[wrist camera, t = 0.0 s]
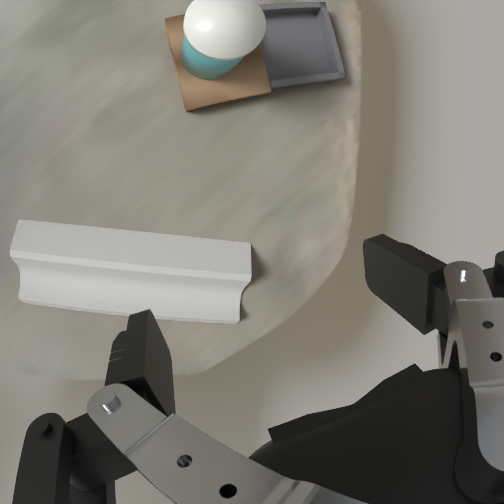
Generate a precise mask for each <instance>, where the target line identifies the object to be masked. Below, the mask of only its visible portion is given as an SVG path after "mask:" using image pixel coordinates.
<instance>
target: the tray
mask: <svg viewBox="0 0 504 504" xmlns="http://www.w3.org/2000/svg"><path fill="white" fill-rule="evenodd" d="M259 6H260V8H261V9H262V11H263V13H264V16H265V19H266V31H265V34H264V37H263V39H262V40H261V42H260V43H259V44H260V48H261V52H262V56H263V60H264V63H265V67H266V71H267V75H268V79H269V83H270V87H271V89H276V88H282V87H288V86H295V85H302V84H309V83H317V82H326V81H336V80H340V79H343V78H346V76H345V72H344V67H343V63H342V59H341V56H340V52H339V48H338V44H337V40H336V37H335V33H334V30H333V26H332V23H331V20H330V16H329V13H328V10H327V7H326V3H325V2H296V3H276V4H263V5H259Z"/></svg>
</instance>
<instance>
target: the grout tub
mask: <svg viewBox="0 0 504 504" xmlns="http://www.w3.org/2000/svg"><path fill="white" fill-rule="evenodd" d="M183 30H184V40H183V47H182V62H183V65H184V67H185V68H186V70H187V71H188V72H189V73H190V74H192V75H193V76H195V77H197V78H200V79H204V80H215V79H219V78H222V77H224V76H225V75H227V74H228V73H229V72H231V71H232V69H233V68H234V67H235V66H236V65H237V64H238V63H239V62H240V60H241V59H242V58H243V57H244V56H245V55H247V54H249V53H250V52H251V51H253V50H254V49H255V48H256V47H257V46H258V44H259V43H260V42H261V40H262V39H263V37H264V34H265V31H266V19H265V16H264V13H263V11H262V9H261V8H260V6H259V5H258V4H257V3H256V2H255V1H254V0H194V1H193V2H192V3H191V4H190V6H189V7H188V9H187V11H186V13H185V17H184V24H183Z"/></svg>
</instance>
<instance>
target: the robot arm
mask: <svg viewBox="0 0 504 504" xmlns="http://www.w3.org/2000/svg"><path fill="white" fill-rule="evenodd" d="M363 254H364V266H365V278H366V282H367V285H368V287H369V289H370V290H371V291H372V292H373V293H374V294H375V295H376V296H378V297H379V298H380V299H381V300H383V301H384V302H385V303H386V304H387V305H389V306H390V307H391V308H392V309H394V310H395V311H396V312H397V313H398V314H400V315H401V316H402V317H403V318H404V319H406V320H407V321H408V322H409V323H411V324H412V325H413V326H414V327H415V328H416V329H418V330H419V331H420V332H421V333H422V334H424V335H425V334H427V333H429V332H431V331H432V330H434V329H438V335H437V343H438V358H439V369H433V370H428V371H425V372H423V371H422V370H421V369H420V368H419V367H418V366H417V365H416V364H413V365H411V366H409V367H407V368H406V369H404V370H402V371H400V372H398V373H396V374H394V375H393V376H391V377H389V378H387V379H385V380H383V381H382V382H381V383H380V384H378V385H377V386H376V387H375V388H374V389H372V390H371V391H370V392H368V393H367V394H366V395H365V396H364V397H362V398H361V399H360V400H359V401H357V402H356V403H354V404H352V405H349V406H345V407H341V408H336V409H332V410H327V411H322V412H317V413H312V414H307V415H305V416H302V417H299V418H297V419H294V420H291V421H289V422H286V423H283V424H281V425H278V426H275V427H272V428H269V429H268V431H269V434H270V436H271V439H272V440H271V441H269V442H268V443H266V444H264V445H263V446H262V447H260V448H259V449H258V450H256V451H255V452H254V453H253V454H252V455H251V456H250V457H249V458H247V457H245V456H244V455H242V454H240V453H238V452H236V451H235V450H233V449H231V448H229V447H228V446H226V445H224V444H222V443H221V442H219V441H217V440H216V439H214V438H212V437H211V436H209V435H208V434H206V433H204V432H203V431H201V430H200V429H198V428H196V427H195V426H193V425H192V424H190V423H189V422H187V421H186V420H184V419H183V418H181V417H180V416H178V415H176V411H175V400H174V388H173V374H172V360H171V355H170V352H169V349H168V346H167V344H166V342H165V339H164V337H163V335H162V333H161V331H160V328H159V326H158V324H157V322H156V319H155V317H154V315H153V313H152V311H151V310H150V309H148V310H144V311H141V312H138V313H134V314H131V315H129V320H128V325H127V330H126V331H122V332H120V333H119V334H118V336H117V337H116V339H115V340H114V341H113V344H112V349H111V354H110V359H109V360H110V362H109V364H108V370H107V375H106V381H105V386H104V387H103V388H101V389H100V390H98V391H97V392H96V393H95V394H94V395H93V396H92V397H91V398H90V400H89V402H88V405H87V413H86V414H84V415H82V416H79V417H77V418H75V419H73V420H71V421H68V422H65V421H64V420H63V419H62V417H61V416H60V415H58V414H56V413H46V414H43V415H41V416H39V417H38V418H36V419H35V420H34V421H33V422H32V423H31V424H30V426H29V427H28V429H27V432H26V436H25V440H24V444H23V448H22V453H21V457H20V462H19V467H18V472H17V478H16V483H15V490H14V496H13V503H12V504H116V499H115V498H116V497H115V480H117V479H119V478H121V477H123V476H126V475H128V474H130V473H132V472H134V471H139V472H140V473H141V474H142V475H143V476H144V477H145V478H146V479H147V480H148V481H149V482H150V483H151V484H152V485H154V486H155V487H156V488H157V489H158V490H159V491H160V492H161V493H162V494H164V495H165V496H166V497H167V498H168V499H169V500H170V501H172V502H173V503H174V504H504V251H501V252H499V253H497V254H496V257H495V265H494V267H492V268H488V269H484V270H482V269H481V268H480V267H479V266H478V265H476V264H474V263H471V262H467V261H457V262H452V263H449V264H448V265H447V264H445V263H444V262H442V261H440V260H438V259H436V258H434V257H432V256H431V255H429V254H425V252H423V251H421V250H418V249H417V248H415V247H413V246H411V245H409V244H405V243H400V242H398V241H396V240H394V239H392V238H390V237H388V236H386V235H384V234H380V235H377V236H374V237H372V238H369V239H366V240H365V241H364V242H363Z"/></svg>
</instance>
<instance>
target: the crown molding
mask: <svg viewBox="0 0 504 504" xmlns="http://www.w3.org/2000/svg"><path fill="white" fill-rule="evenodd" d="M10 257H11V258H12V259H13V260H14V262H15V263H16V264H17V265H18V267H19V270H20V291H19V297H18V299H19V300H21V301H22V302H24V303H30V304H36V305H42V306H49V307H56V308H63V309H70V310H78V311H86V312H94V313H103V314H112V315H121V316H129V315H131V314H134V313H138V312H141V311H144V310H148V309H150V310H151V311H152V313H153V315H154V317H155V319H165V320H178V321H192V322H208V323H227V324H237V323H238V322H239V321H240V315H239V312H240V299H241V294H242V291H243V289H244V288H245V287H246V286H247V285H248V283H249V282H250V280H251V276H252V272H251V243H243V242H234V241H225V240H216V239H206V238H197V237H188V236H178V235H169V234H159V233H150V232H140V231H131V230H121V229H111V228H101V227H91V226H81V225H71V224H61V223H51V222H41V221H30V220H20V219H19V220H18V223H17V226H16V230H15V233H14V237H13V240H12V244H11V248H10Z"/></svg>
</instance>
